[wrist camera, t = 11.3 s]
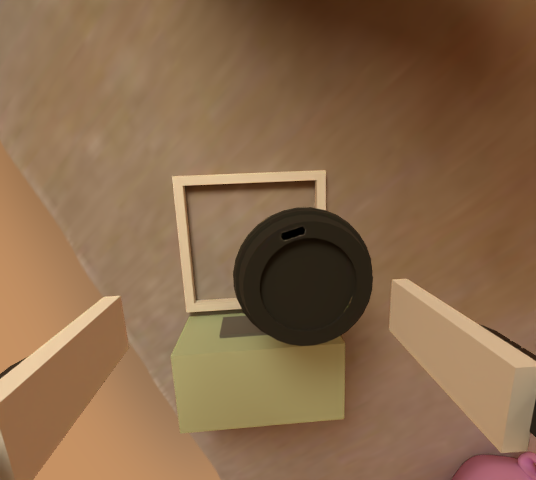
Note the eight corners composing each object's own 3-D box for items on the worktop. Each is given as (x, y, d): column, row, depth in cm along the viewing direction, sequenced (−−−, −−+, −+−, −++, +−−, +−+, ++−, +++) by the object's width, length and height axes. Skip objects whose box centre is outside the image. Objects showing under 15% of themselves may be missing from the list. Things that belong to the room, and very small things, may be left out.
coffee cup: (253, 291, 34) (259, 374, 19) (226, 213, 31) (209, 238, 17) (330, 266, 34) (396, 328, 19) (309, 187, 32) (363, 188, 17)
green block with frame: (174, 176, 31) (148, 173, 23) (323, 170, 31) (347, 165, 24) (195, 378, 35) (180, 433, 28) (323, 368, 36) (344, 418, 28)
